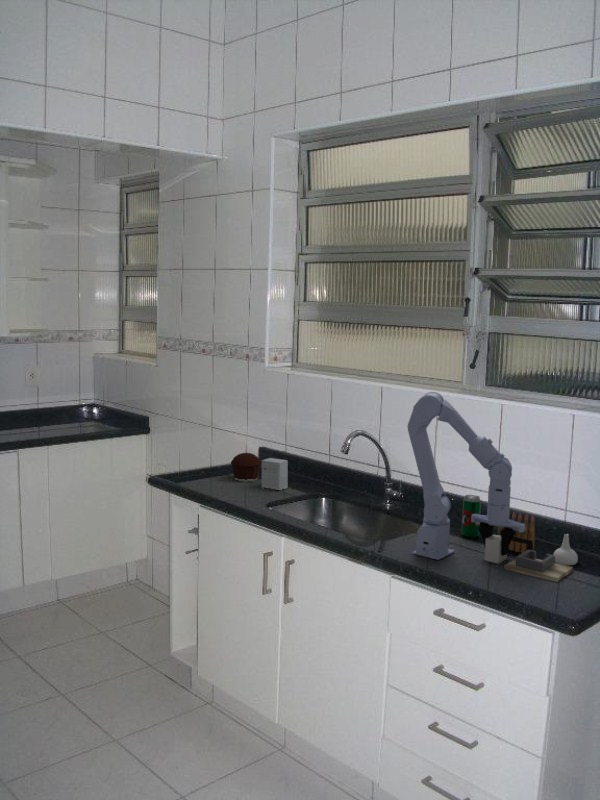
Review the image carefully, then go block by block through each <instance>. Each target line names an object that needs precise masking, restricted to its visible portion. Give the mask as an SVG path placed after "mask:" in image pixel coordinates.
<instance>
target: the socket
mask: <svg viewBox="0 0 600 800" xmlns="http://www.w3.org/2000/svg"><path fill="white" fill-rule="evenodd" d="M515 559H516V565H515V566H517V567H521V568H525V569H529V570H534V571H538V572H542V573H543V572H544V571H546V570H547V569H549V568H550V567H552V566H553V565H554V564H555V563H556V562H555V555H553V554H551V553H546V554H545V558H543V559H541V560H542V561H537V560H536V559H537V551H536V550H535V551H533V550H527V551H525V552H523V553H522V554H520V555H518V556H515Z"/></svg>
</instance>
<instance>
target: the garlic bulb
mask: <svg viewBox="0 0 600 800" xmlns="http://www.w3.org/2000/svg"><path fill="white" fill-rule="evenodd" d="M569 535H570V534H569V533H566V534H565V533H564V536H563V538H562V539H563V540H562V543H561V546H560V547H559V548H556V550H554V552H553V554H552V555H555V563H557V564H561V565H566V566H575V565H576V564H577V563H578V559H579V557H578V553H577V552H576V551H575V549H572V548H571V545H570V537H569Z"/></svg>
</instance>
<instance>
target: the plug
mask: <svg viewBox="0 0 600 800" xmlns="http://www.w3.org/2000/svg"><path fill="white" fill-rule="evenodd" d="M501 544H502V543H501V535H497V534H492V536H490V537H488V538H486V542H485V547H484V561H487V562H491V563H494V564H500V563H502V562H503V561H506V560H507V556H508V555H507V554H506V555H504V556H503V555H501Z"/></svg>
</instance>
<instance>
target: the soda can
mask: <svg viewBox="0 0 600 800" xmlns="http://www.w3.org/2000/svg"><path fill="white" fill-rule="evenodd" d="M462 500H463V501H462V504H463V505H462V519H461V535H462V536H463V537H465V538H467V539H476V538H478V537H479V535H480V532H479V530H478V526H480V523H478V522H475V523H474V522H471V515H473V514H479V515H481V508H482V507H481V504H482V503H481V502H482V500H481V498H480V496H479V495H477V494H476V495H475V494H466V495H464V498H463V499H462Z"/></svg>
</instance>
